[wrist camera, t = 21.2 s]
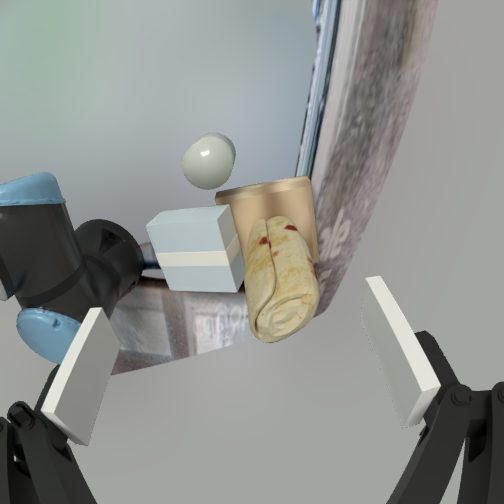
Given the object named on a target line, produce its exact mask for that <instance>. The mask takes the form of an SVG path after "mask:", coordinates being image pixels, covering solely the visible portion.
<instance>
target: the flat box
mask: <svg viewBox="0 0 504 504" xmlns="http://www.w3.org/2000/svg"><path fill="white" fill-rule="evenodd" d="M145 227H146V230H147V232H148V235H149V238H150V240H151V243H152V246H153V248H154V251H155V255H156V257H157V260H158V262H159V265H160V266H161V269H162V271H163V274H164V276H165V278H166V281H167V283H168V286H169V288H170V290H175V291H202V292H238V290H239V288H240V286H241V284H242V282H243V280H244V274H245V264H244V260H243V256H242V252H241V247H240V243H239V239H238V235H237V232H236V228H235V224H234V220H233V216H232V212H231V208H230V204H228V205H217V206H208V207H198V208H189V209H180V210H171V211H162V212H161V213H159V214H158V215H157V216H156V217H155V218H154V219H153V220H151V221H150V222H149V223H148V224H147V225H146V226H145Z"/></svg>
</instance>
